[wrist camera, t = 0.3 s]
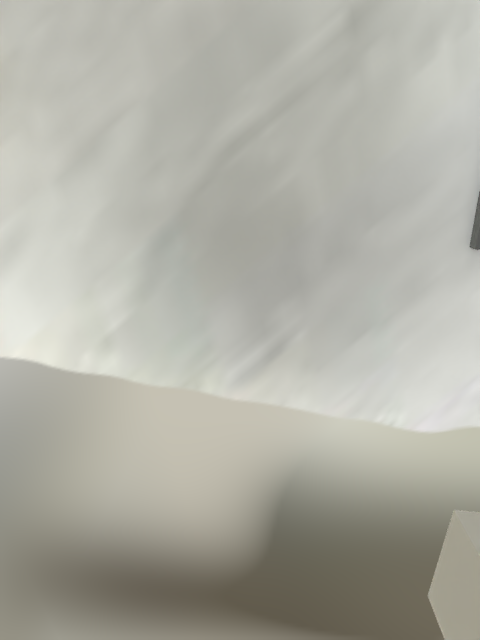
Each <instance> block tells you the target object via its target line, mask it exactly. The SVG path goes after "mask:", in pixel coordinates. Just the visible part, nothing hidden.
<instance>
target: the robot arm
mask: <svg viewBox="0 0 480 640" xmlns="http://www.w3.org/2000/svg"><path fill="white" fill-rule="evenodd" d="M428 597H429V600H430V603H431V605H432V608H433V611H434V613H435V616H436V618H437V621H438V624H439V626H440V629H441V631H442V634H443V637H444V639H445V640H480V512H471V511H461V510H454V511H453V514H452V517H451V521H450V524H449V527H448V530H447V534H446V537H445V540H444V544H443V547H442V550H441V554H440V557H439V560H438V564H437V567H436V570H435V573H434V577H433V580H432V583H431V587H430V590H429V594H428Z"/></svg>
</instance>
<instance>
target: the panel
mask: <svg viewBox="0 0 480 640" xmlns="http://www.w3.org/2000/svg"><path fill="white" fill-rule="evenodd" d="M470 247H471V248H473V249H480V193H479V198H478V204H477V210H476V215H475V221H474V226H473V232H472V237H471V243H470Z"/></svg>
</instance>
